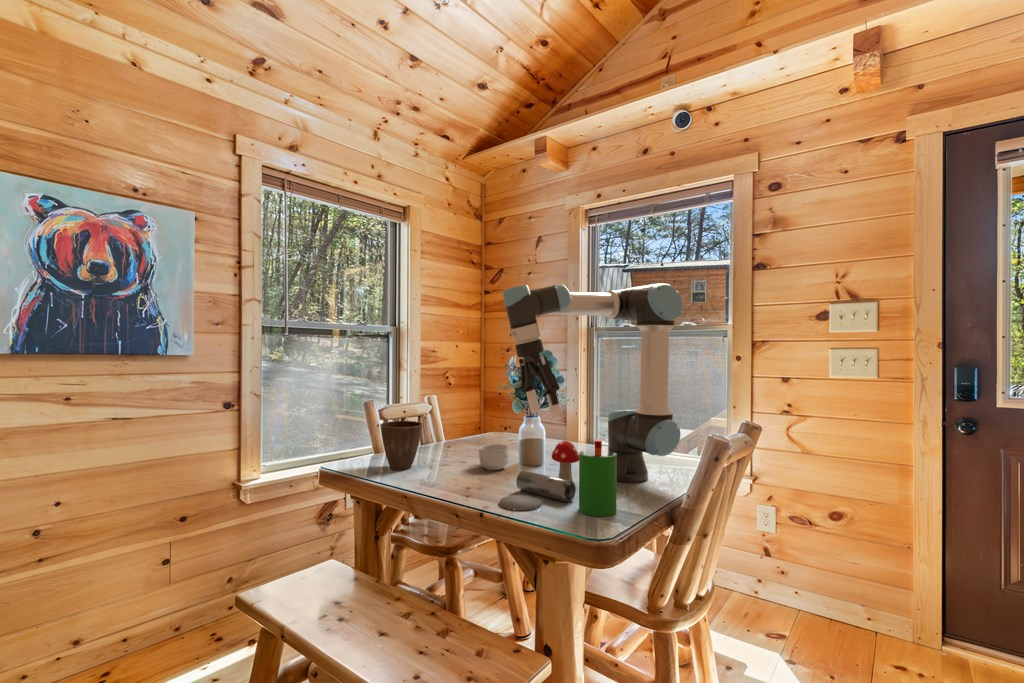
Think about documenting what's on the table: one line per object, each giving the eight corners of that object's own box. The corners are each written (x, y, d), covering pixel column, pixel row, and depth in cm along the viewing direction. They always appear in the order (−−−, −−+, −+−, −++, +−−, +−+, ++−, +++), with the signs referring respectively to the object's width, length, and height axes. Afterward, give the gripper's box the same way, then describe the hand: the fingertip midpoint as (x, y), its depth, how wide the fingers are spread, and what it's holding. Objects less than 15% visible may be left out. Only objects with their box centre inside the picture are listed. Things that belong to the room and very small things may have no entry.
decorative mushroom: (546, 485, 167) (546, 439, 167) (571, 483, 169) (571, 437, 169) (559, 494, 157) (559, 444, 157) (584, 492, 160) (585, 443, 160)
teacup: (510, 471, 185) (510, 449, 185) (480, 472, 183) (480, 449, 183) (504, 462, 198) (504, 441, 198) (476, 463, 197) (476, 442, 197)
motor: (612, 506, 147) (613, 435, 147) (620, 516, 138) (620, 441, 138) (576, 506, 146) (577, 435, 146) (582, 516, 137) (582, 441, 137)
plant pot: (425, 463, 196) (425, 420, 196) (418, 473, 181) (418, 427, 181) (385, 463, 196) (385, 420, 196) (375, 473, 181) (375, 427, 181)
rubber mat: (519, 495, 156) (519, 492, 156) (550, 503, 148) (550, 501, 148) (490, 504, 147) (490, 501, 147) (522, 513, 139) (522, 510, 139)
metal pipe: (528, 487, 164) (528, 468, 164) (576, 500, 152) (576, 479, 152) (515, 491, 160) (515, 472, 160) (563, 504, 147) (564, 483, 147)
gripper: (499, 346, 155) (516, 414, 156) (534, 342, 132) (554, 422, 133) (522, 339, 158) (538, 407, 159) (559, 335, 135) (579, 414, 136)
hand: (545, 414), depth 146 cm, fingers open, 13 cm apart
